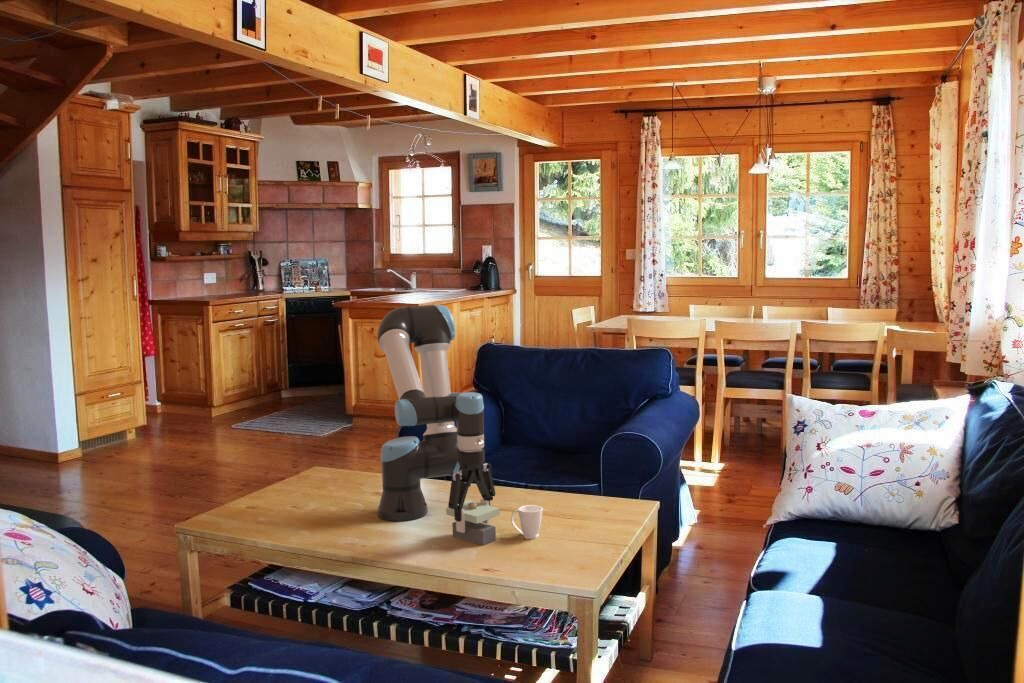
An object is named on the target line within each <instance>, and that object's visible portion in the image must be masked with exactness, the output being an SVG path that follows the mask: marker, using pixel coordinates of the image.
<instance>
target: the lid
mask: <svg viewBox="0 0 1024 683" xmlns="http://www.w3.org/2000/svg"><path fill="white" fill-rule="evenodd" d="M458 505H459V504H458ZM462 509H464V510H465V520H466V521H469V522H473V523H476V524H477V523H483V521H485V520H488V519H489V520H490V519H493V518H496V517H499V516H500V508H499V507H496V506H493V505H490V506H489V505H485V504H482V503H480V502H478V501H474V500H470V499H467V500H465V501H464V504H463V507H462ZM445 515H446V516H449V517H450V516H451V517H453V518H455V515H454V509H451V508H448V506H447V507H445Z"/></svg>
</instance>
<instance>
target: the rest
mask: <svg viewBox="0 0 1024 683" xmlns="http://www.w3.org/2000/svg"><path fill="white" fill-rule="evenodd" d="M496 535H497V534H496V526H495V525H491V524H489V523H488V524H487V523H483V522H480V523H477V524H476V523H473V522H469V521H466V520H465V533H461V532H458V531H456V521H453V522H452V537H453V538H457V539H460V540H463V541H466V542H471V543H473V544H477V545H480V546H486V545H488V544H491V543H493V542H496V541H497V536H496Z"/></svg>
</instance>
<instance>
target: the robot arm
mask: <svg viewBox="0 0 1024 683" xmlns="http://www.w3.org/2000/svg"><path fill="white" fill-rule="evenodd" d="M378 325H379V326H378V329H377V334H376V335H377V343H378V346H379V349H380V350H381V351H382V352H384V354H385V357H386V361H387V364H388V367H389V371H390V375H391V378H392V380H393V385H394V388H395V391H396V394H397V397H398V400H396V401H395V403H394V415H395V416H394V417H395V421H396V423H397V425H399V426H400V427H411V426H412V427H415V426H422V425H426V430H425V432H424V433H423V435H422V439H423V440H420V439H419V437H417V436H415V435H414V436H413V435H411V436H406V435H405V436H400V437H396V438H393V439H390V440H388V441H386V442H384V444H383V445H382V446H381V448H380V451H381V452H380V461H381V480H382V491H381V492H382V493H381V497H380V500H379V505H378V507H377V516H378V517H379V518H380V519H382V520H384V521H389V522H390V521H391V522H401V521H402V522H406V521H412V520H417V519H420V518H422V517H423V518H424V516H426V515H427V514H428V504H427V502H426V499H425V496H424V493H423V491H422V486H421V480H422V479H423V480H424V479H431V478H438V477H447V476H448V477H451V479H450V480H451V483H450V490H449V491H450V492H449V498H448V505H447V507H448V508H451V509H454V515H455V517H454V522H456V531H458V532H461V533H465V510H464V509H462V507H463V504H464V501H466V497H467V493H468V491H469V487H471V486H472V485H471V484H472V483H474V482H475V485H476V486H477V488H478V491H479V494H480V496H481V499H480V502H479V503H482V504H485V505H489V506H491V501H493V499H494V497H495V496H496V489H495V484H494V480H493V474H492V464H491V463H487V462H485V461H486V460H485V459H486V458H485V452H486V451H485V449H484V447H485V427H484V426H485V424H484V423H485V418H484V416H485V415H484V414H485V411H484V409H485V404H484V397H483V394H482V393H479V392H474V391H472V392H471V391H470V392H469V391H467V392H455V391H454V392H452V390H451V381H450V373H449V370H450V369H449V364H448V363H449V362H448V352H447V351H448V349H450V347H451V345H452V344H451V341H453V340H455V338H456V325H455V321H454V317H453V314H452V312H451V311H450V309H449V308H448V307H447V306H446V305H442V304H441V305H439V304H438V305H437V304H428V305H427V304H426V305H414V306H399V307H396V308H394V309H392V310H390V311H389V312H388V313H387V314H386V315H384V316H383V318H382V320H381V321H380V322H379V324H378ZM409 344H413V350H415V352H417V353H418V354H419V359H420V362H419V363H420V369H421V370H420V372H421V379H420V376H419V373H418V370H417V367H416V363H415V361H414V358H413V357H414V356H413V355H412V352H411V348H410V345H409ZM455 422H456V425H455ZM458 504H459V505H458ZM482 523H484V524H488V525H489V524H490V519H488V520H485V521H483V522H482Z"/></svg>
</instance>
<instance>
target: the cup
mask: <svg viewBox="0 0 1024 683" xmlns="http://www.w3.org/2000/svg"><path fill="white" fill-rule="evenodd" d="M516 512H518V516H519V521H520V523H519V524H520V526H521V529H520V528H519V527H518V526H517V525H516V523H515V521H514V520H515V513H516ZM542 516H543V507H542V506H540V505H537V504H527V505H522V506H519V507H518V509H515V510H512V513H511V516H510V518H511V520H510V521H511V525H512V526H513V528H514V529H515V530H516V532H518V533H519V534H520V535H522V536H523V538H525V539H527V540H528V539H530V540H531V539H532V540H533V539H538V538H539V537H540V534H539V533H540V530H541V524H542Z"/></svg>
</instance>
